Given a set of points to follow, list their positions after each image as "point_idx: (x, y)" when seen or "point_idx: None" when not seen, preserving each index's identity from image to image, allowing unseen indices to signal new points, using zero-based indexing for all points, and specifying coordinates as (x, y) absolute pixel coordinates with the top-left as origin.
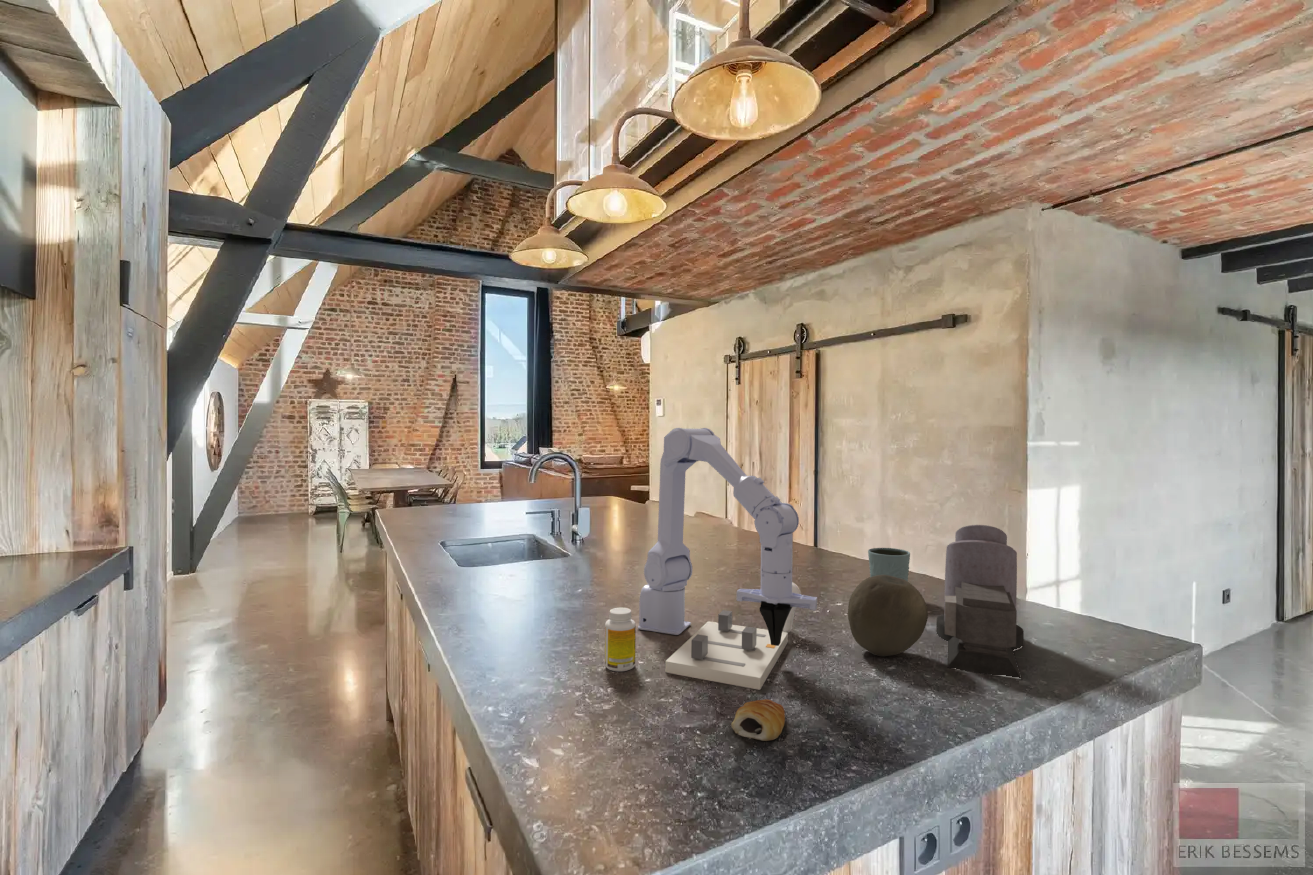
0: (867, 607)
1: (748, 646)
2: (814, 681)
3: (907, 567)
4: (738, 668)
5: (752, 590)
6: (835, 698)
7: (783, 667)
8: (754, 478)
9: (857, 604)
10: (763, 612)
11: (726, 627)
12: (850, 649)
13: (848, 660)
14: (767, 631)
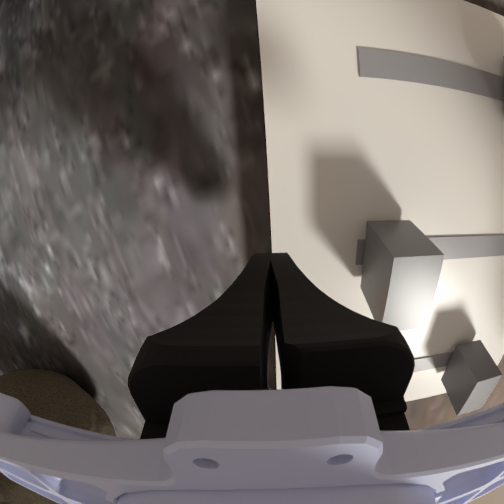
0: None
1: (387, 226)
2: (105, 155)
3: None
4: (370, 23)
5: (477, 492)
6: (33, 78)
7: (234, 218)
8: None
9: None
10: (369, 329)
11: (464, 352)
12: (125, 396)
13: (97, 343)
14: None
